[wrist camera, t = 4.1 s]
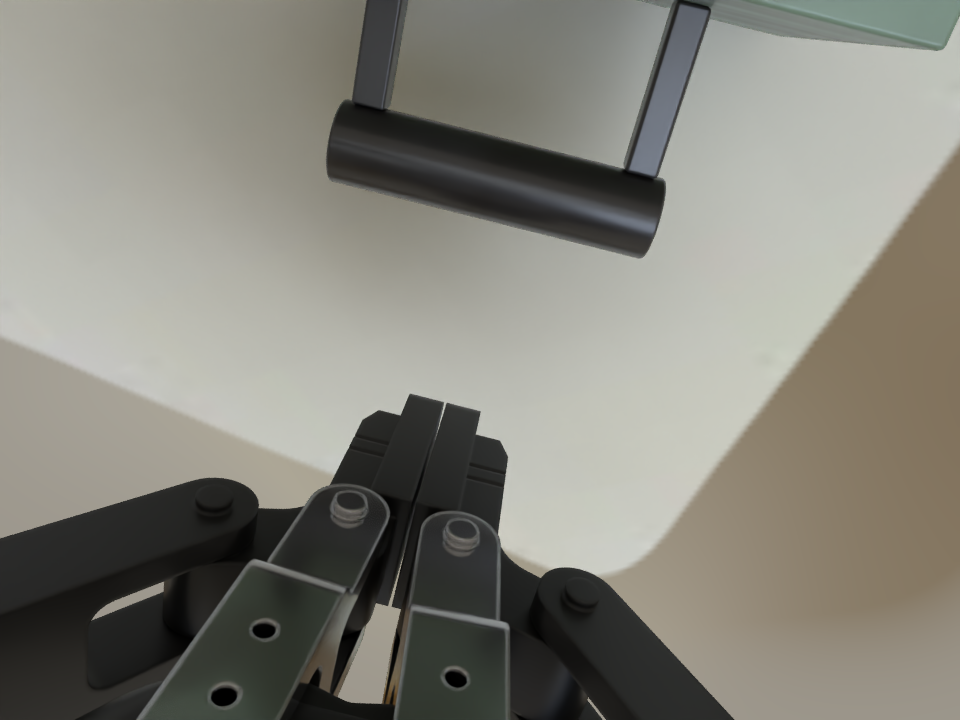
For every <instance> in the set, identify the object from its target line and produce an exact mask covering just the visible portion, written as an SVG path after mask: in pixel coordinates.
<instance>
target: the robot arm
mask: <svg viewBox="0 0 960 720" xmlns="http://www.w3.org/2000/svg"><path fill="white" fill-rule="evenodd" d="M443 405H444V402H441V401H437V400H433V399H429V398H425V397H421V396H418V395H414V394H410V395H409V397H408V399H407V402H406V404H405V406H404V409H403V411H402V414H401V416H400V415H396V414H392V413H388V412H384V411H380V410H378V411H377V412H375V413H373V414H372V415H370V416H369V417H367V418H365V419H364V420H362V422H361V424H360V426H359V428H358V430H357V432H356V434H355V437H354V438H353V440H352V442H351V444H350V447H349V449H348V450H347V452H346V454H345V456H344V458H343V460H342V462H341V464H340V466H339V468H338V470H337V472H336V474H335V476H334V478H333V480H332V482H331V484H330V485H329V486H326V487H323V488H321V489H319V490H317V491H316V492H315V493H314V494H313V495H312V496H311V497H310V498H309V500H308V501H307V503H306V504H305V506H303V507H298V508H292V509H263V508H258V507H259V504H258V499H257V497H256V495H255V494H254V492H253V491H252V490H251V489H249V488H248V487H246V486H245V485H243V484H241V483H239V482H236V481H233V480H229V479H224V478H204V479H198V480H194V481H190V482H187V483H183V484H180V485H177V486H174V487H170V488H167V489H163V490H160V491H157V492H154V493H150V494H147V495H144V496H140V497H137V498H133V499H130V500H127V501H123V502H120V503H117V504H114V505H110V506H107V507H104V508H100V509H97V510H93V511H90V512H87V513H83V514H81V515H77V516H73V517H70V518H67V519H63V520H60V521H57V522H53V523H50V524H47V525H44V526H40V527H37V528H34V529H31V530H27V531H24V532H20V533H17V534H14V535H10V536H7V537H4V538H1V539H0V720H602V718H601V717H600V716H599V715H598V713H597V712H596V711H595V709H594V708H593V707H592V706H591V704H590V703H589V702H588V700H587V699H588V697H589V699H590V700H591V701H592V702H593V704H594V705H595V706H596V707H597V708H598V710H599V711H600V713H601V714H602V715H603V716H604V718H605V719H606V720H734V719H733V718H732V717H731V716H730V714H728V712H727V711H726V710H725V709H724V708H723V707H722V706H721V705H720V704H719V703H718V702H717V700H716V699H715V698H714V697H712V695H711V694H710V693H709V692H708V691H707V690H706V689H705V688H704V687H703V685H702V684H701V683H700V682H699V681H698V680H697V679H696V678H695V677H694V676H693V675H692V674H691V673H690V671H689V670H688V669H687V668H686V667H685V666H684V665H683V664H682V663H681V662H680V661H679V660H678V659H677V657H676V656H675V655H674V654H673V653H672V652H671V651H670V650H669V649H668V648H667V647H666V646H665V645H664V644H663V642H662V641H661V640H660V639H659V638H658V637H657V636H656V635H655V634H654V633H653V632H652V631H651V630H650V629H649V627H648V626H647V625H646V624H645V623H644V622H643V621H642V620H641V619H640V618H639V617H638V616H637V615H636V613H635V612H634V611H633V610H632V609H631V608H630V607H629V606H628V605H627V604H626V603H625V602H624V601H623V599H622V598H621V597H620V596H619V595H618V594H617V593H616V592H615V591H614V590H613V589H612V588H611V587H610V586H609V585H608V584H607V583H606V582H604V581H603V580H602V579H600V578H599V577H597V576H595V575H593V574H591V573H589V572H586V571H583V570H580V569H576V568H556V569H553V570H550V571H548V572H547V573H545V574H544V575H543V576H542V578H539V577H537V576H535V575H533V574H532V573H530V572H527V571H526V570H524V569H522V568H521V567H519V566H518V565H517V564H515V563H514V562H513V561H512V560H511V559H509V558H508V556H507V555H506V554H505V553H504V551H503V550H502V548H501V543H500V539H499V536H498V529H499V521H500V514H501V506H502V499H503V491H504V483H505V476H506V475H505V474H506V468H507V461H508V456H507V454H506V452H505V450H504V448H503V446H502V444H501V442H500V441H499V440H495V439H491V438H487V437H483V436H479V435H476V431H477V426H478V421H479V417H480V412H481V411H477V410H473V409H469V408H465V407H461V406H457V405H454V404H450V403H447V404H446V407H445V410H444V414H443V417H442V420H441V423H440V427H439V422H440V418H441V414H442V410H443ZM438 427H439V430H438ZM437 431H438V433H437ZM436 435H437V436H436ZM435 439H436V440H435ZM404 551H405V552H404ZM403 554H404V556H403ZM402 558H403V561H402ZM401 561H402V565H401V569H400V573H399V578H398V582H397V586H396V590H395V595H394V599H393V604H392V607H395V608H399V609H401V612H400V616H399V620H398V625H397V628H396V633H395V637H394V641H393V645H392V650H391V656H390V661H389V667H388V672H387V678H386V684H385V690H384V696H383V701H382V704H365V703H350V702H347V701H344V700H342V699H340V698H338V697H337V696H338V694H339V692H340V690H341V687H342V685H343V682H344V680H345V678H346V675H347V674H348V671H349V669H350V666H351V664H352V662H353V660H354V657H355V655H356V653H357V651H358V648H359V646H360V643H361V641H362V638H363V636H364V631H365V626H366V624H367V623H368V622H369V620H370V618H371V616H372V613H373V610H374V607H375V604H376V603H378V604H382V605H386V606H388V604H389V600H390V598H391V594H392V591H393V588H394V584H395V581H396V578H397V574H398V571H399V568H400V564H401ZM161 582H164V592H162V593H160V594H157V595H155V596H152V597H150V598H147V599H145V600H142V601H139V602H137V603H134V604H132V605H129V606H127V607H125V608H122V609H119V610H117V611H115V612H112V613H109V614H107V615H105V616H102V617H99V618H97V619H94V620H92V618H93V617H94V616H95V614H96V613H97V612H98V611H99V610H100V609H102V608H103V607H104V606H105V605H107V604H109V603H111V602H112V601H114V600H117V599H120V598H122V597H125V596H128V595H130V594H132V593H135V592H138V591H140V590H143V589H145V588H148V587H151V586H153V585H155V584H158V583H161ZM91 620H92V621H91Z"/></svg>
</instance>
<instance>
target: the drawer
mask: <svg viewBox="0 0 960 720" xmlns="http://www.w3.org/2000/svg"><path fill="white" fill-rule="evenodd" d="M638 1H642V2H646V3H650V4H654V5H658V6H662V7H666V8H670V12H669V16H668V19H667V22H666V25H665V29H664V32H663V35H662V38H661V42H660V45H659V48H658V52H657V55H656V58H655V61H654V65H653V68H652V71H651V74H650V78H649V81H648V84H647V88H646V91H645V94H644V97H643V101H642V104H641V107H640V110H639V114H638V117H637V120H636V124H635V127H634V130H633V133H632V137H631V140H630V143H629V147H628V150H627V153H626V156H625V160H624V168H625V169H623V168H619V167H615V166H611V165H607V164H603V163H599V162H595V161H591V160H587V159H583V158H579V157H575V156H571V155H567V154H563V153H559V152H555V151H551V150H547V149H543V148H539V147H535V146H531V145H528V144H524V143H520V142H516V141H512V140H508V139H504V138H500V137H496V136H492V135H488V134H484V133H480V132H476V131H472V130H468V129H464V128H460V127H456V126H452V125H448V124H444V123H440V122H436V121H432V120H428V119H424V118H420V117H416V116H412V115H409V114H405V113H401V112H397V111H393V110H389V109H386V108H388V107H389V106H390V104H391V98H392V92H393V87H394V81H395V75H396V69H397V63H398V57H399V51H400V45H401V39H402V33H403V27H404V22H405V16H406V10H407V4H408V0H366V7H365V14H364V21H363V27H362V34H361V41H360V48H359V55H358V61H357V68H356V75H355V82H354V88H353V95H352V100H349V99H347V100H344V101H343V102H342V103H341V104H340V106H339V108H338V110H337V112H336V114H335V117H334V120H333V123H332V127H331V130H330V135H329V140H328V146H327V156H326V168H327V175H328V178H329V179H330V180H331V181H333V182H337V183H341V184H345V185H349V186H353V187H357V188H360V189H364V190H368V191H372V192H376V193H380V194H384V195H388V196H392V197H396V198H400V199H404V200H408V201H412V202H416V203H420V204H424V205H428V206H432V207H436V208H440V209H444V210H448V211H452V212H456V213H460V214H464V215H468V216H472V217H476V218H480V219H484V220H488V221H492V222H496V223H500V224H504V225H507V226H511V227H515V228H519V229H523V230H527V231H531V232H535V233H539V234H543V235H547V236H551V237H555V238H559V239H563V240H567V241H571V242H575V243H579V244H583V245H587V246H591V247H595V248H599V249H603V250H607V251H611V252H615V253H619V254H623V255H627V256H631V257H635V258H643V257H644V256H645V254H646V253H647V251H648V250H649V248H650V246H651V243H652V241H653V239H654V236H655V233H656V231H657V228H658V225H659V221H660V218H661V214H662V210H663V206H664V201H665V194H666V183H665V180H664V179H662V178H658V177H657V176H658V174H659V171H660V168H661V165H662V162H663V159H664V156H665V153H666V150H667V147H668V144H669V141H670V137H671V134H672V131H673V128H674V125H675V122H676V119H677V116H678V113H679V110H680V107H681V104H682V101H683V98H684V95H685V92H686V89H687V85H688V82H689V79H690V76H691V73H692V70H693V67H694V64H695V61H696V58H697V55H698V52H699V49H700V46H701V43H702V40H703V37H704V34H705V30H706V27H707V24H708V21H709V19H713V20H717V21H721V22H725V23H729V24H733V25H737V26H741V27H745V28H749V29H753V30H757V31H761V32H765V33H769V34H773V35H777V36H783V37H794V38H804V39H815V40H826V41H837V42H848V43H858V44H869V45H880V46H891V47H902V48H913V49H923V50H934V51H938V50H942V49H944V47H945V46H946V44H947V42H948V40H949V38H950V36H951V34H952V31H953V29H954V27H955V25H956V23H957V20H958V18H959V16H960V0H638Z"/></svg>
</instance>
